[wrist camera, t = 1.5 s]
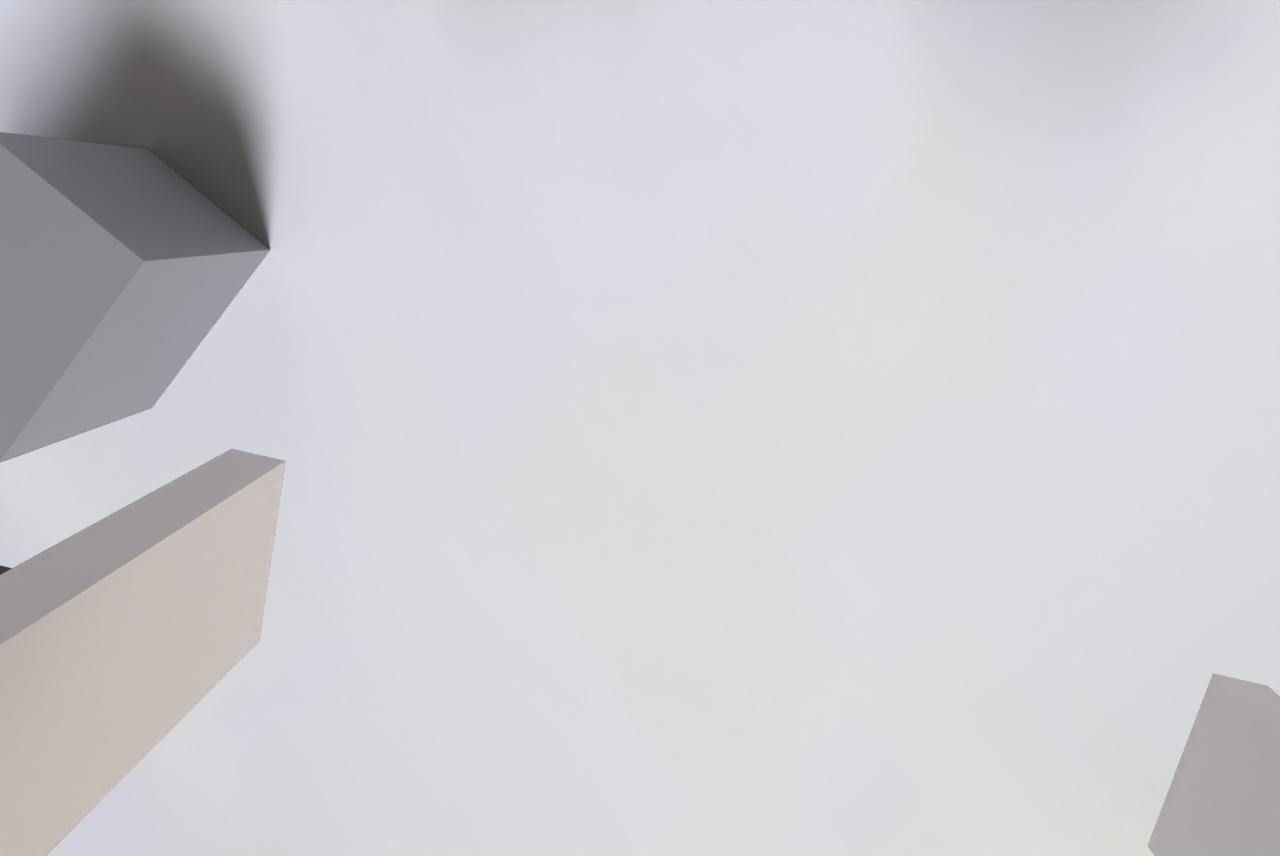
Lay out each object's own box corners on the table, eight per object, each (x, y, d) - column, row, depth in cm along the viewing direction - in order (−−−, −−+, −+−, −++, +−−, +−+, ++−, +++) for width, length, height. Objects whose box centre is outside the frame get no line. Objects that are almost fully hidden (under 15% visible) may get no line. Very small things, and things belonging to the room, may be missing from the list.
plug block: (33, 312, 35) (-156, 341, 28) (148, 148, 34) (-17, 130, 26) (152, 407, 36) (-1, 463, 28) (270, 249, 34) (144, 261, 27)
